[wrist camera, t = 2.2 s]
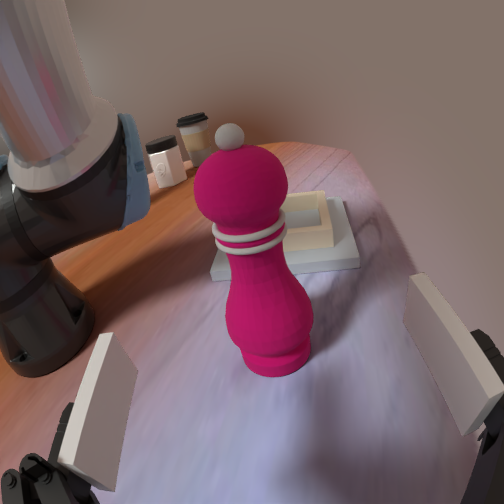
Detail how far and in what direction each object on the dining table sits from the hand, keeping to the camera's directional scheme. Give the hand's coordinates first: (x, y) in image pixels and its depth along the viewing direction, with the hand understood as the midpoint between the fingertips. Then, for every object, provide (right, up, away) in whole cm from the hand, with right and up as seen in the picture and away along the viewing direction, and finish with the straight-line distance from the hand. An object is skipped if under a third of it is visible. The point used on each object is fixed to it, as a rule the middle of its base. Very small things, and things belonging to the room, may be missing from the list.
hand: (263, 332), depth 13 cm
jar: (-22, +22, +69) cm, 75 cm away
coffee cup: (-15, +29, +79) cm, 85 cm away
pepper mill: (+2, -6, +15) cm, 16 cm away
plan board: (+4, +5, +32) cm, 33 cm away
